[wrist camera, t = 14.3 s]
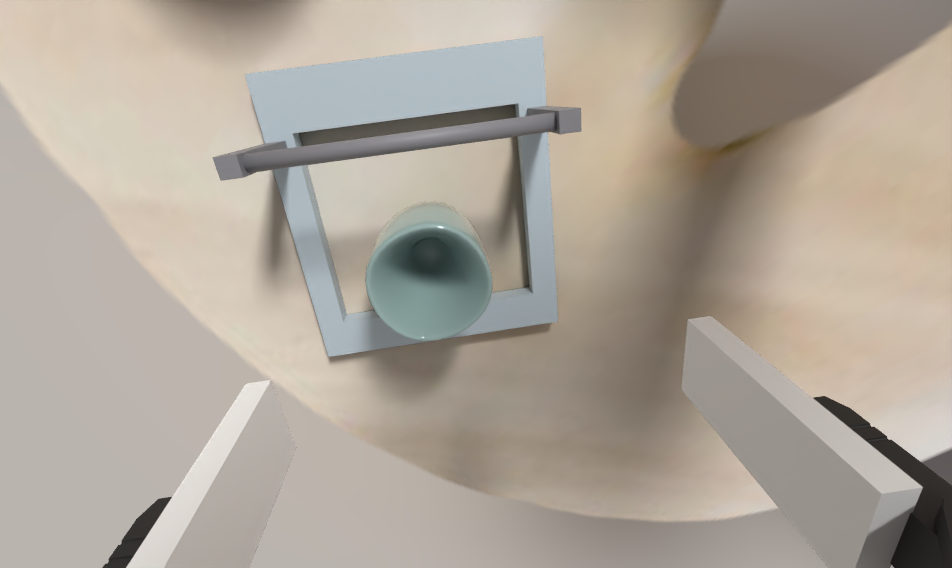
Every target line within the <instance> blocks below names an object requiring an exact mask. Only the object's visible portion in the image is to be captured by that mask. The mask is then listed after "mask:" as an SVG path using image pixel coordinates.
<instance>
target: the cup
mask: <svg viewBox="0 0 952 568" xmlns="http://www.w3.org/2000/svg"><path fill="white" fill-rule="evenodd" d="M365 282H366V289H367V294H368V297H369V300H370V302H371V305H372V306H373V308H374V310H375V312H376V313H377V315H378V316H379V317H380V318H381V319H382V321H383V322H384V323H385V324H386V325H387V326H389V327H390V328H391V329H392V330H393V331H395V332H397V333H398V334H400V335H402V336H404V337H407V338H410V339H413V340H418V341H436V340H441V339H445V338H449V337H451V336H453V335H456V334H458V333H460V332H462V331H463V330H465V329H467V328H468V327H470V326H471V325H472V324H473V323H475V322H476V321H477V320H478V319H479V318H480V316H481V315H482V314H483V313H484V311H485V310H486V308H487V306H488V304H489V302H490V298H491V294H492V289H493V287H492V273H491V269H490V265H489V261H488V258H487V255H486V252H485V250H484V247H483V245H482V243H481V241H480V238H479V236H478V234H477V232H476V231H475V229H474V228H473V226H472V225H471V223H470V222H469V220H468V219H467V218H466V217H465V216H464V215H463V214H462V213H461V212H459V211H458V210H457V209H455V208H454V207H452V206H450V205H448V204H445V203H442V202H436V201H429V202H421V203H417V204H414V205H411V206H409V207H407V208H405V209H403V210H402V211H400V212H399V213H397V214H396V215H395V216H394V217H393V218H392V219H391V220H390V221H389V222H388V223H387V224H386V225H385V227H384V228H383V230H382V231H381V233H380V234H379V236H378V238H377V240H376V242H375V245H374V247H373V250H372V253H371V255H370V258H369V261H368V263H367V267H366V277H365Z"/></svg>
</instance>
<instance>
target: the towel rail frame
mask: <svg viewBox="0 0 952 568" xmlns="http://www.w3.org/2000/svg"><path fill="white" fill-rule="evenodd" d="M245 77H246V81H247V84H248V87H249V91H250V94H251V97H252V101H253V104H254V107H255V111H256V114H257V118H258V121H259V124H260V128H261V131H262V134H263V138H264V141H265V144H262V145H259V146H255V147H251V148H247V149H243V150H239V151H236V152H232V153H228V154H224V155H220V156H217V157H213V160H214V163H215V166H216V169H217V172H218V174H219V177H220V180H221V181H222V180H229V179H236V178H244V177H246V176H248V175H251V174H253V173H256V172H260V171H267V170H273V171H274V175H275V178H276V182H277V185H278V188H279V192H280V195H281V198H282V202H283V205H284V208H285V212H286V215H287V219H288V222H289V225H290V229H291V232H292V235H293V239H294V242H295V245H296V249H297V252H298V256H299V259H300V262H301V266H302V269H303V272H304V276H305V279H306V282H307V286H308V289H309V293H310V296H311V299H312V303H313V306H314V309H315V313H316V316H317V319H318V323H319V326H320V330H321V333H322V336H323V340H324V343H325V346H326V350H327V353H328V356H329V357H331V356H338V355H344V354H351V353H357V352H364V351H370V350H377V349H383V348H390V347H396V346H403V345H409V344H416V343H422V342H429V341H418V340H413V339H410V338H407V337H404V336H402V335H400V334H398V333H397V332H395V331H393V330H392V329H391V328H390V327H389V326H387V325H386V324H385V323H384V322H383V321H382V319H381V318H380V317H379V316H378V315H377V313H376V312H375V310H374V311H367V312H360V313H354V314H347V313H346V309H345V306H344V302H343V298H342V294H341V291H340V287H339V283H338V279H337V276H336V272H335V268H334V264H333V261H332V257H331V253H330V249H329V246H328V242H327V238H326V234H325V231H324V227H323V223H322V219H321V216H320V212H319V208H318V204H317V201H316V197H315V193H314V189H313V186H312V182H311V178H310V174H309V170H308V167H307V165H311V164H318V163H326V162H333V161H340V160H348V159H355V158H362V157H370V156H377V155H384V154H392V153H399V152H406V151H414V150H421V149H428V148H436V147H443V146H450V145H458V144H465V143H472V142H480V141H487V140H494V139H502V138H509V137H516V136H517V137H518V149H519V162H520V174H521V187H522V199H523V212H524V224H525V237H526V249H527V262H528V274H529V287H527V288H520V289H513V290H507V291H500V292H493V293H492V294H491V298H490V302H489V304H488V306H487V308H486V310H485V311H484V313H483V314H482V315H481V316H480V318H479V319H478V320H477V321H476V322H475V323H473V324H472V325H471V326H470V327H468V328H467V329H465V330H463V331H462V332H460V333H458V334H456V335H453V336H451V337H449V338H455V337H461V336H468V335H474V334H481V333H487V332H494V331H500V330H507V329H513V328H520V327H526V326H533V325H539V324H546V323H552V322H558V310H557V292H556V273H555V255H554V236H553V218H552V199H551V181H550V162H549V143H548V132H553V133H557V134H565V133H573V132H580V131H581V108H572V107H552V106H546V88H545V69H544V51H543V36H540V37H532V38H524V39H516V40H508V41H501V42H493V43H485V44H477V45H469V46H461V47H454V48H446V49H438V50H430V51H422V52H414V53H407V54H399V55H391V56H383V57H375V58H367V59H359V60H352V61H344V62H336V63H328V64H320V65H312V66H305V67H297V68H289V69H281V70H273V71H265V72H258V73H250V74H245ZM510 104H515V112H516V118H509V119H502V120H494V121H487V122H479V123H472V124H465V125H457V126H450V127H442V128H435V129H427V130H420V131H413V132H405V133H398V134H390V135H383V136H375V137H368V138H361V139H353V140H346V141H338V142H331V143H324V144H316V145H309V146H302V144H301V140H300V137H299V133H300V132H308V131H315V130H323V129H330V128H338V127H345V126H353V125H360V124H368V123H375V122H383V121H390V120H398V119H405V118H413V117H420V116H428V115H435V114H443V113H450V112H458V111H465V110H473V109H480V108H488V107H495V106H503V105H510ZM445 339H448V338H445ZM441 340H442V339H441Z"/></svg>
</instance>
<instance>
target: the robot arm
mask: <svg viewBox="0 0 952 568" xmlns="http://www.w3.org/2000/svg"><path fill="white" fill-rule="evenodd" d="M681 390H682V391H683V393H684V394H685V395H686V396H687V397H688V399H689V400H690V401H691V402H692V403H693V405H694V406H695V407H696V408H697V409H698V411H699V412H700V413H701V414H702V416H703V417H704V418H705V419H706V420H707V422H708V423H709V424H710V425H711V426H712V428H713V429H714V430H715V431H716V432H717V434H718V435H719V436H720V437H721V439H722V440H723V441H724V442H725V443H726V445H727V446H728V447H729V448H730V449H731V451H732V452H733V453H734V454H735V455H736V457H737V458H738V459H739V460H740V461H741V463H742V464H743V465H744V466H745V468H746V469H747V470H748V471H749V472H750V474H751V475H752V476H753V477H754V478H755V480H756V481H757V482H758V483H759V484H760V486H761V487H762V488H763V489H764V491H765V492H766V493H767V494H768V495H769V497H770V498H771V499H772V500H773V501H774V503H775V504H776V505H777V506H778V507H779V509H780V510H781V511H782V512H783V513H784V515H785V516H786V517H787V518H788V520H789V521H790V522H791V523H792V524H793V526H794V527H795V528H796V529H797V530H798V532H799V533H800V534H801V535H802V536H803V538H804V539H805V540H806V541H807V542H808V544H809V545H810V546H811V547H812V549H813V550H814V551H815V552H816V553H817V555H818V556H819V557H820V558H821V559H822V561H823V562H824V563H825V564H826V566H827V567H828V568H890V566H891V565H893V567H894V568H952V486H951V485H950V484H949V483H948V482H946V481H945V480H944V479H942V478H941V477H939V476H938V475H937V474H936V473H934V472H933V471H932V470H930V469H929V468H928V467H926V466H925V465H924V464H923V463H921V462H920V461H919V460H917V459H916V458H915V457H913V456H912V455H911V454H909V453H908V452H907V451H905V450H904V449H903V448H902V447H900V446H899V445H898V444H896V443H895V442H894V441H892V440H888V439H887V436H886V435H884V434H883V433H882V432H881V431H879V430H878V429H877V428H875V427H871V426H870V423H869V422H867V421H866V420H865V419H863V418H862V417H861V416H860V415H858V414H857V413H856V412H854V411H853V410H852V409H850V408H849V407H846V406H844V405H842V404H840V403H838V402H836V401H834V400H832V399H830V398H828V397H826V396H822V397H815V398H812V397H811V396H810V395H808V394H807V393H806V392H805V391H803V390H802V389H801V388H800V387H798V386H797V385H796V384H795V383H794V382H792V381H791V380H790V379H789V378H787V377H786V376H785V375H784V374H782V373H781V372H780V371H779V370H777V369H776V368H775V367H774V366H773V365H771V364H770V363H769V362H768V361H766V360H765V359H764V358H763V357H761V356H760V355H759V354H758V353H756V352H755V351H754V350H753V349H752V348H750V347H749V346H748V345H747V344H745V343H744V342H743V341H742V340H740V339H739V338H738V337H737V336H735V335H734V334H733V333H732V332H731V331H729V330H728V329H727V328H726V327H724V326H723V325H722V324H721V323H719V322H718V321H717V320H716V319H714V318H713V317H712V316H707V317H700V318H693V319H688V321H687V332H686V343H685V354H684V365H683V376H682V388H681ZM295 450H296V445H295V443H294V440H293V437H292V435H291V432H290V429H289V427H288V424H287V421H286V418H285V416H284V413H283V410H282V408H281V405H280V402H279V400H278V397H277V394H276V392H275V389H274V386H273V383H272V381H271V380H268V381H260V382H254V383H247V384H246V385H245V386H244V388H243V389H242V391H241V393H240V394H239V396H238V397H237V398H236V400H235V402H234V403H233V405H232V406H231V408H230V409H229V411H228V412H227V414H226V415H225V417H224V419H223V420H222V421H221V423H220V425H219V426H218V428H217V429H216V431H215V432H214V434H213V435H212V437H211V438H210V440H209V441H208V443H207V444H206V446H205V448H204V449H203V451H202V452H201V454H200V455H199V457H198V458H197V460H196V461H195V463H194V464H193V466H192V468H191V469H190V471H189V472H188V474H187V475H186V477H185V478H184V480H183V481H182V483H181V484H180V486H179V488H178V489H177V491H176V492H175V494H174V495H173V497H168V498H162V499H158V500H157V501H156V502H155V503H154V504H152V505H151V506H150V507H149V508H148V509H147V510H146V511H145V512H144V513H143V514H142V515H141V516H139V517H138V518H137V519H136V521H135V523H134V524H133V525H132V527H131V528H130V530H129V531H128V532H127V534H126V535H125V536H124V538H123V540H122V544H121V545H118V547H117V548H116V549H115V551H114V552H113V554H112V555H111V556H110V558H109V562H108V564H105V565H104V567H103V568H249V567H250V565H251V562H252V560H253V557H254V555H255V552H256V549H257V547H258V544H259V542H260V539H261V537H262V534H263V531H264V529H265V527H266V524H267V521H268V519H269V516H270V514H271V511H272V509H273V506H274V503H275V501H276V499H277V496H278V493H279V491H280V488H281V486H282V483H283V480H284V478H285V476H286V473H287V470H288V468H289V465H290V463H291V460H292V458H293V455H294V453H295Z"/></svg>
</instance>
